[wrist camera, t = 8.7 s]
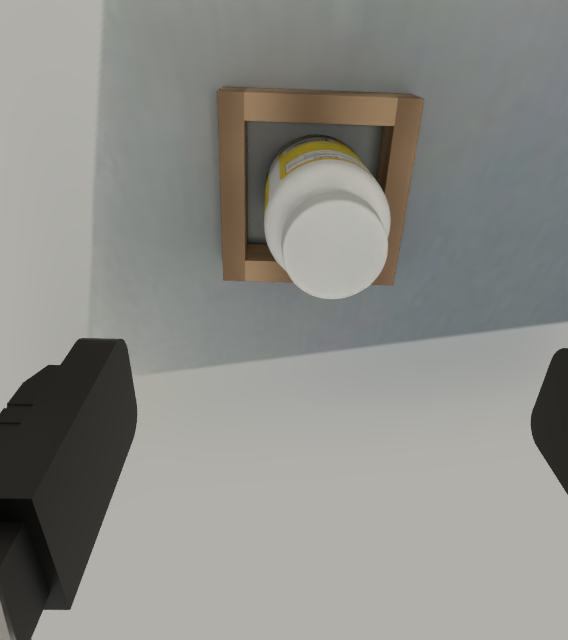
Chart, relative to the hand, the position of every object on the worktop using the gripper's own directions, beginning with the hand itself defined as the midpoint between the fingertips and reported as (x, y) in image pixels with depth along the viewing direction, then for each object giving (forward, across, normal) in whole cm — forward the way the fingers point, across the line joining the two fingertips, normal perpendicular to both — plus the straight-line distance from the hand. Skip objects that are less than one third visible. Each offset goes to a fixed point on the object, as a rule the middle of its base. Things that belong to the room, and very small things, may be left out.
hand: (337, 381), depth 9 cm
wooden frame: (+19, -1, +1) cm, 19 cm away
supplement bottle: (+19, -1, +1) cm, 19 cm away
